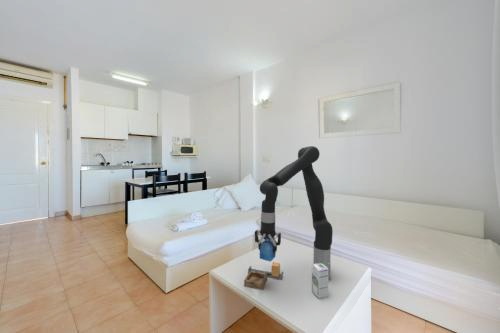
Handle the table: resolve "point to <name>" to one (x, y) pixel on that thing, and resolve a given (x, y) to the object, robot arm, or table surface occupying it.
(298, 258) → the table surface
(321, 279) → the syrup box
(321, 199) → the robot arm
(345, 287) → the table surface
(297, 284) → the table surface
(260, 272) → the rail
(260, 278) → the tray
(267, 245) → the perfume bottle
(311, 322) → the table surface
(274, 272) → the tan rectangular block
